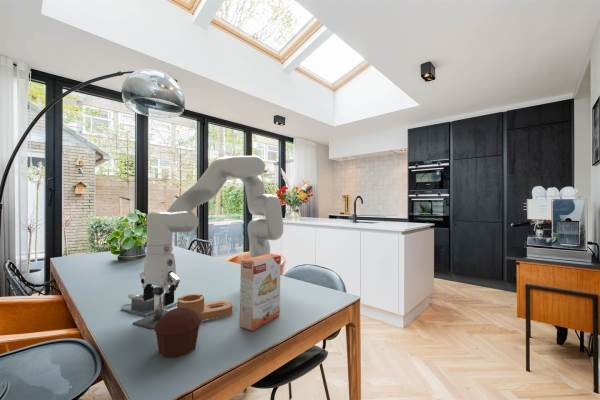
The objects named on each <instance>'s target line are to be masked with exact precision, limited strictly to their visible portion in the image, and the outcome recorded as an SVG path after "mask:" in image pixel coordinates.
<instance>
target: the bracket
mask: <svg viewBox="0 0 600 400" xmlns="http://www.w3.org/2000/svg"><path fill="white" fill-rule="evenodd" d="M176 302H177V305H176V308H181V307H185V308H190V309H192V310H194V311H195V312H196V313H197V314H198V315H199V316H200V317H201V322H203V321H202V320H206V319H210V320H213V319H212V318H215V319H217V318H216V317H220V318H223V317H222V316H224V317H227V316H226V315H228V316H230V315H231V314H232V313H233V302H232V301H230V300H217V301H212V302H205V295H203V294H201V293H189V294H185V295H184V294H183V295H181V296H180V297H178V298H177V301H176ZM229 314H230V315H229ZM206 321H207V320H206Z"/></svg>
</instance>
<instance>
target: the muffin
mask: <svg viewBox="0 0 600 400" xmlns="http://www.w3.org/2000/svg"><path fill="white" fill-rule="evenodd" d="M201 324H202V321H201V317H200V316H199V315H198V314H197V313H196V312H195V311H194V310H192V309H190V308H185V307H181V308H177V307H175V308H173V309H171V310H169V312H167V313H166V314H165V315H163V316H162V317H161V318H160V319H159V321H158V322H157V324H156V325H155V327H154V329H153V330H154V332H155V335H156V336H155V337H156V342H157V348H158V354H159V355H160V356H162V357H163V358H166V359H168V358H169V359H170V358H172V359H173V358H175V359H177V358H180V357H183V356H187V355H189V354H190V353H191V352H193V351H194V350H195V349H196V347H197V341H198V336H199V329H200V325H201Z"/></svg>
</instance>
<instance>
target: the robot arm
mask: <svg viewBox="0 0 600 400" xmlns="http://www.w3.org/2000/svg"><path fill="white" fill-rule="evenodd" d="M265 170H266V164H265V161H264V159H263V158H262V157H260V156H258V155H232V156H223V157H219V158H216V159H214V160H213V161H212V162H211V163H210V164H209V166H207V168H206V170H205V171H204V172H203V174H202V175H201V176H200V177H199V179H198V180H197V181H196V182H195V184H194V185H192V186H191V187H190V188H188V189H187V190H186V191H184V192H183V194H180V196H179V197H177V199H175V200H174V201H173V203H172V204H171V205H170V206H169V207H168V209H167V210H166V211H151V212H149V213H148V214H147V216H146V247H145V248H146V253H145V258H144V263H143V264H144V266H143V271H142V272H140V273H139V277H140V278H139V279H140V283H141V285H142V286H141V287H142V289H143V294H142V295H143V300H144V301H147V300H149V299H152V298H153V288H154V286H156V287H159V286H163V287H164V294H165V302H164V305H165V306H167V305H170V304H172V303H174V302H175V292H176V290H177V288H178V287H179V284H180V282H181V279H180V278H179V277H178V275H177V267H176V258H175V254H174V253H173V249H174V248H173V235H174V234H173V233H180V234H181V233H182V234H183V233H184V234H187V233H191V232H193V231H195V230H197V228H198V226H199V222H200V221H199V217H198V216H197V215H196V213H194V212H193V210H195V209H196V208H198V207H199V206H201V205H203V204H205V203H207V202H209V201H211V200H212V199H214V198H215V197H216V196H217V195H218V193H219V192H220V190H221V189H222V187H223V186H224V185H225V183H226V181H227V180H229V179H239V180H241V181H242V183H243V185H244V189H245V193H246V194H245V195H246V201H247V209H248V212H249V213H250V214H251V215H253V216H260V217H256V218H252V219H251V220H250V221H249V222H248V224H247V236H248V241H249V256H248V258H252V257H257V256H261V255H265V254H271V245H270V242H269V241H277V240H280V239H281V237H282V236H283V234H284V220H283V212H282V204H281V201H280V199H279V198H278V197H277V196H276V195H274V194H266V189H265V184H264V181H263V178H262V177H261V175H263V173H264V172H265ZM153 285H154V286H153Z"/></svg>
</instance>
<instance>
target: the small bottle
mask: <svg viewBox="0 0 600 400" xmlns="http://www.w3.org/2000/svg"><path fill="white" fill-rule="evenodd" d="M153 294H154V320H159V319H160V318H161V317H162V316H163V294H165V289H164V287H163V286H154V287H153Z"/></svg>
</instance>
